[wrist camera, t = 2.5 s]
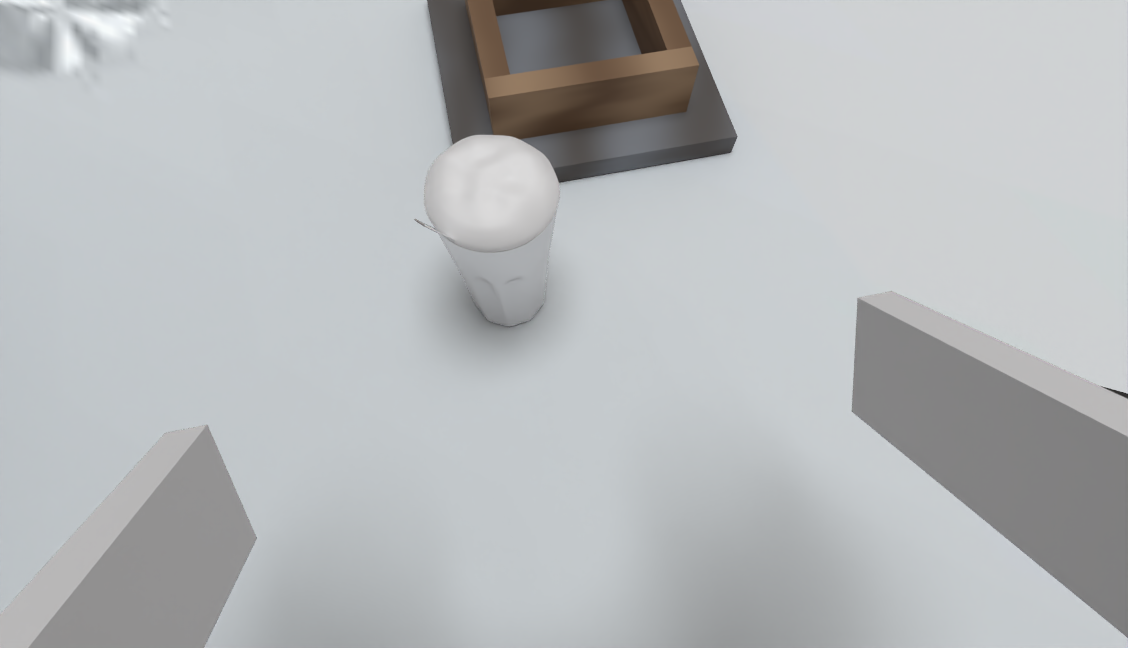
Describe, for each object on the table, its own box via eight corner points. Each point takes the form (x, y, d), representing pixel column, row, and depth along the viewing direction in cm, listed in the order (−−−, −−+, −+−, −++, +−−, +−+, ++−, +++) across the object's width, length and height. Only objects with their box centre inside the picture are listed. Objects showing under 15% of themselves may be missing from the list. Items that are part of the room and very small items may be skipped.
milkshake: (428, 318, 27) (360, 184, 17) (501, 236, 28) (473, 74, 19) (508, 373, 26) (480, 263, 16) (578, 285, 27) (588, 139, 18)
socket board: (463, 198, 29) (449, 141, 25) (429, 4, 34) (412, -68, 31) (730, 152, 30) (755, 91, 27) (657, -29, 36) (669, -102, 32)
